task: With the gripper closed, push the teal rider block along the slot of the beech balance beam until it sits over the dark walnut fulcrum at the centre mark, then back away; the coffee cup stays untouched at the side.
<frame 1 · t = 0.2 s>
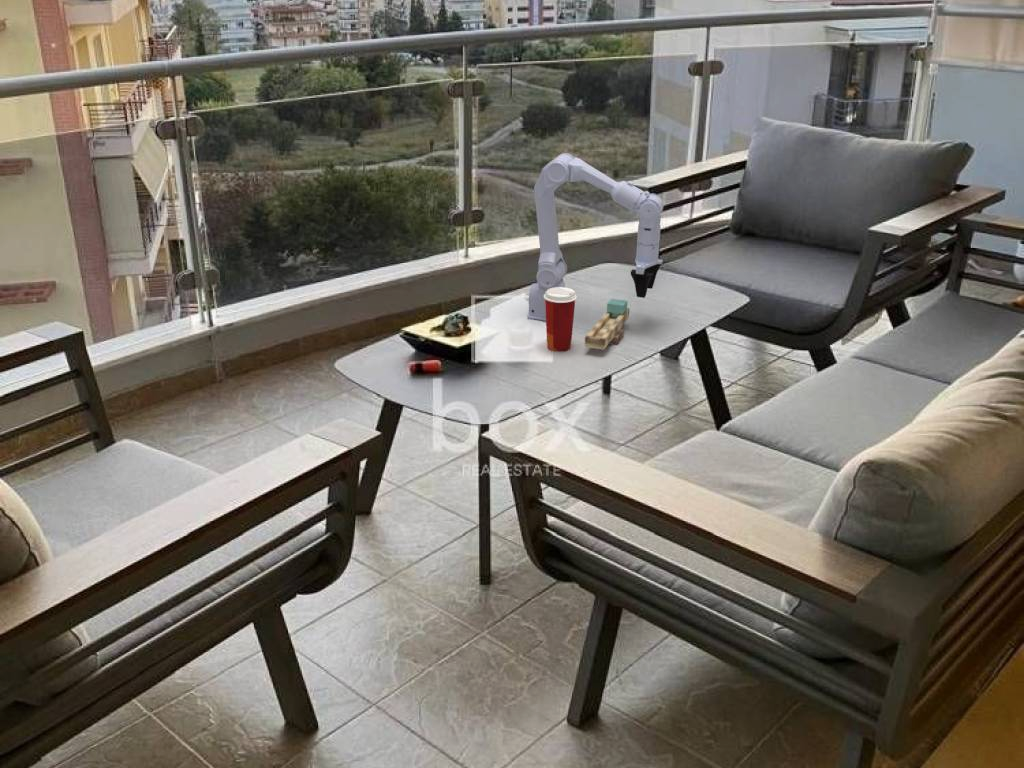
hand: (644, 292, 267), 10 cm above the table, tool pointing down, fingers open, 7 cm apart
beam: (607, 338, 264), on the table
coffee cup: (558, 347, 258), on the table
rider: (617, 308, 269), point 5 cm above the table, slide at 0.0 cm
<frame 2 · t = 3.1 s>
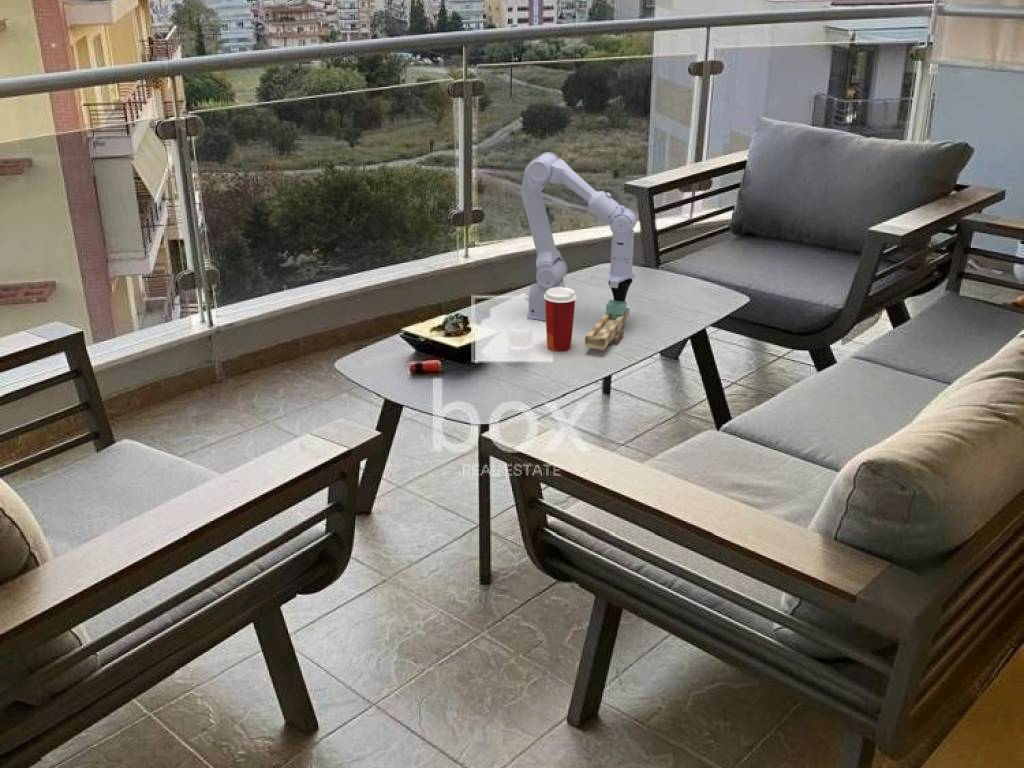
hand: (619, 305, 270), 6 cm above the table, tool pointing down, fingers closed
rider: (616, 310, 268), point 5 cm above the table, slide at 0.9 cm, touching gripper
everything else where it was.
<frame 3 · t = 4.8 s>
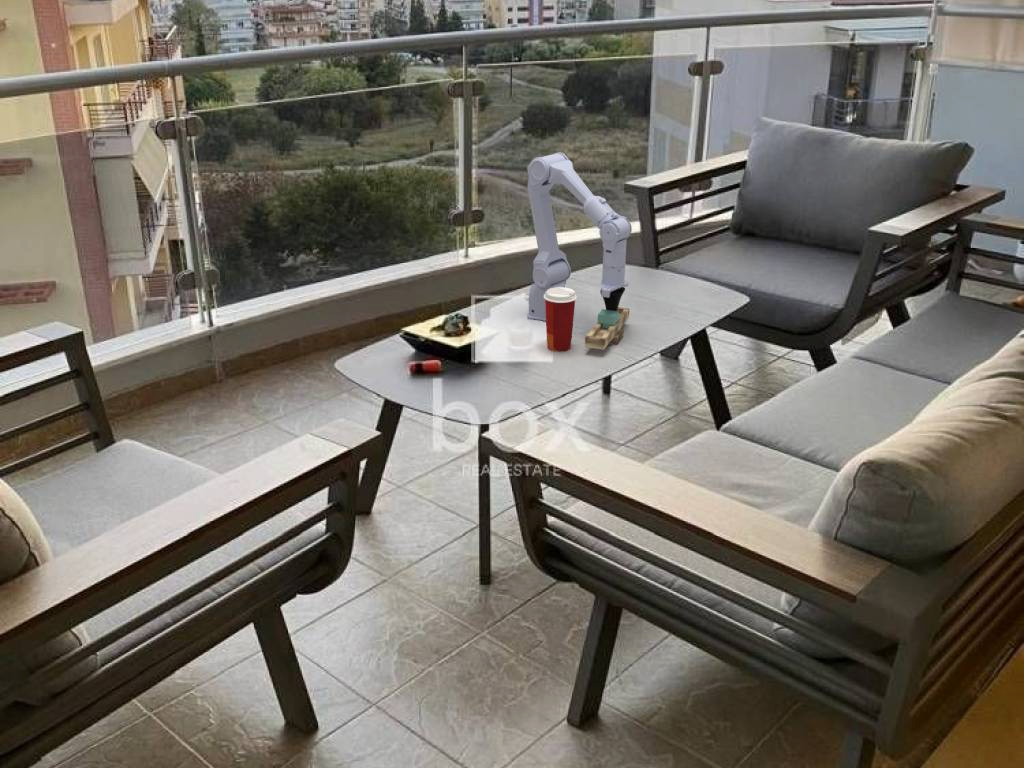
hand: (611, 314, 264), 6 cm above the table, tool pointing down, fingers closed
rider: (608, 319, 261), point 5 cm above the table, slide at 8.6 cm, touching gripper
everything else where it was.
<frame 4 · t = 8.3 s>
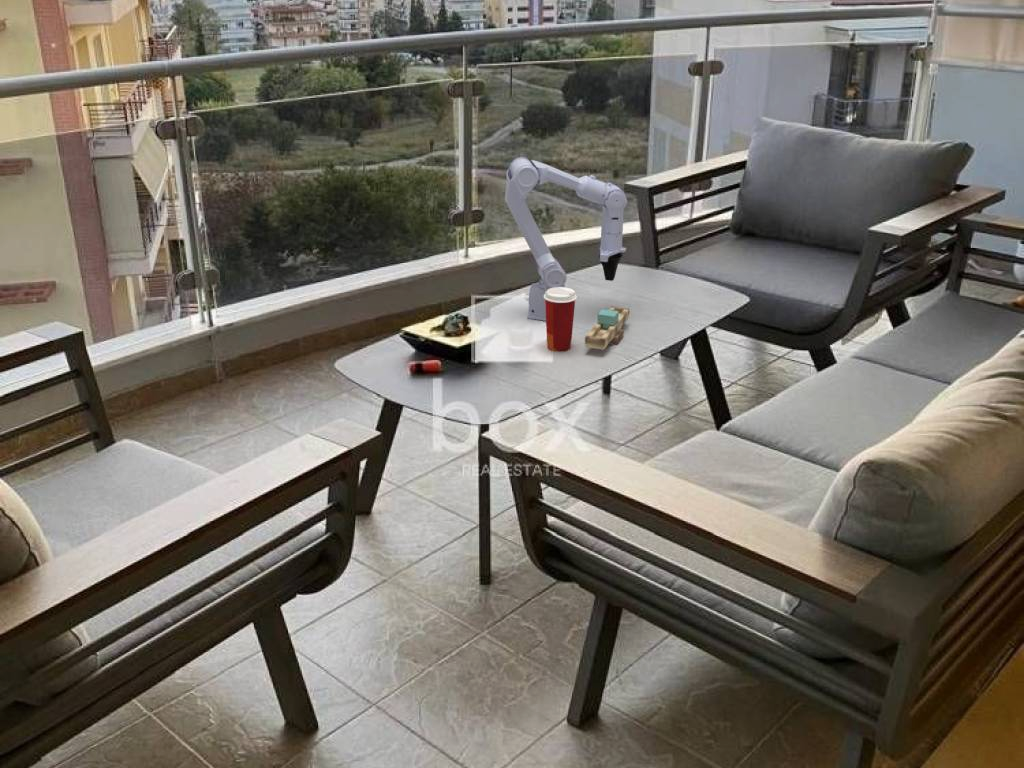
hand: (609, 279, 276), 10 cm above the table, tool pointing down, fingers closed
rider: (608, 319, 261), point 5 cm above the table, slide at 8.6 cm
everything else where it was.
at the end: rider slide at 8.6 cm; rider moved 8.6 cm from its start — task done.
